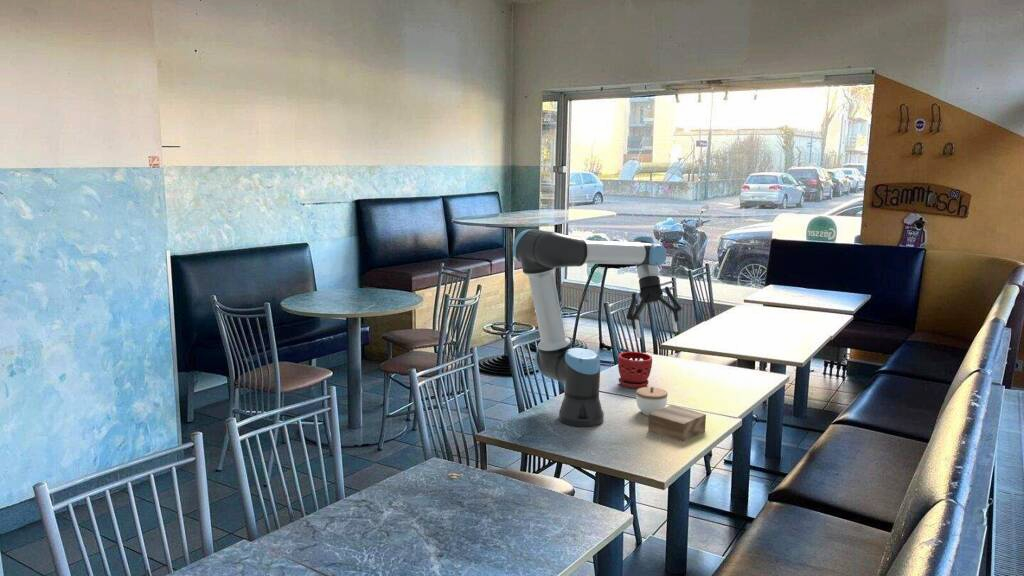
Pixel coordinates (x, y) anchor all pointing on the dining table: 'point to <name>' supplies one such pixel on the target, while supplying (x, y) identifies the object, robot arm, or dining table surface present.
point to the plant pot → (634, 369)
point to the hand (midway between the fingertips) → (657, 334)
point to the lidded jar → (651, 399)
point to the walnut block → (677, 422)
